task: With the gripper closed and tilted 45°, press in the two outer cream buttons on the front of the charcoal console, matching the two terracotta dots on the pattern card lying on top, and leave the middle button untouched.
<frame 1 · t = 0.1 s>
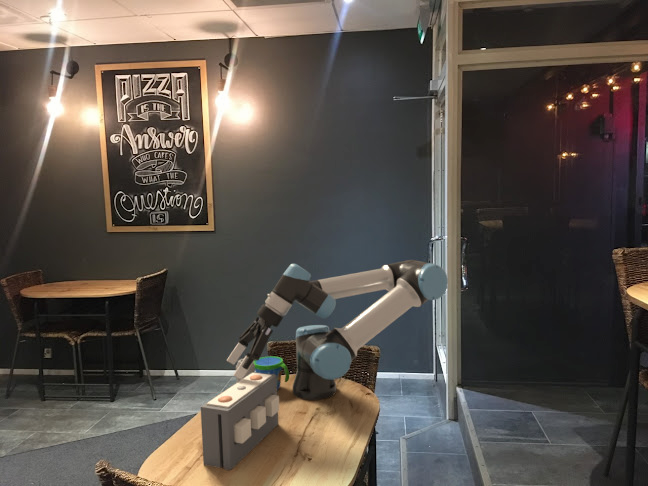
hand: (233, 369, 145), 16 cm above the table, tool tilted 35°, fingers open, 13 cm apart
pattern card: (243, 389, 132), resting on console
energy drink can: (247, 405, 158), on the table
button middle: (257, 417, 131), point 8 cm above the table, slide at 0.0 cm
console: (245, 443, 133), on the table
snack cup: (269, 389, 172), on the table
button edge side: (242, 430, 123), point 8 cm above the table, slide at 0.0 cm
button arm side: (271, 405, 138), point 8 cm above the table, slide at 0.0 cm
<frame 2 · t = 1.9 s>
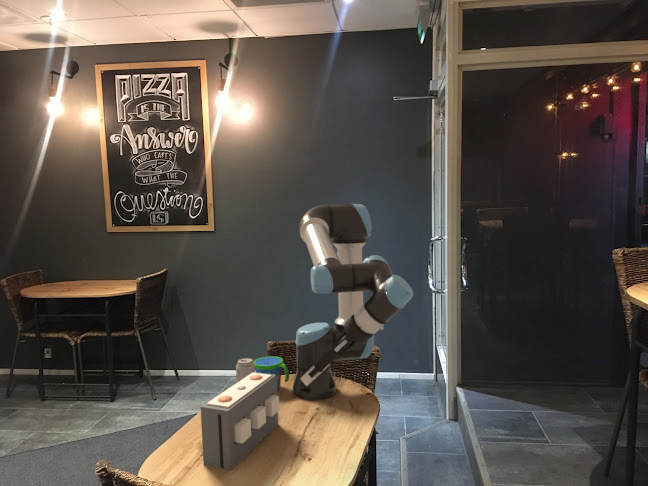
hand: (307, 378, 133), 17 cm above the table, tool tilted 45°, fingers open, 4 cm apart
nothing on the table moved.
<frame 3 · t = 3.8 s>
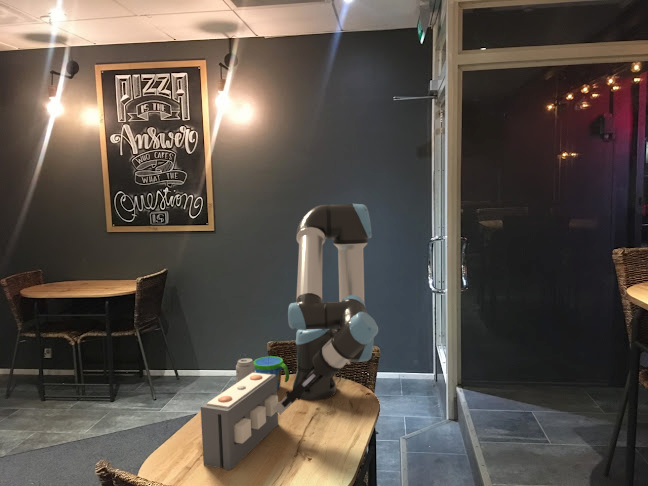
hand: (278, 410, 137), 7 cm above the table, tool tilted 45°, fingers closed
button arm side: (270, 405, 138), point 8 cm above the table, slide at 0.3 cm, touching gripper
everything else where it was.
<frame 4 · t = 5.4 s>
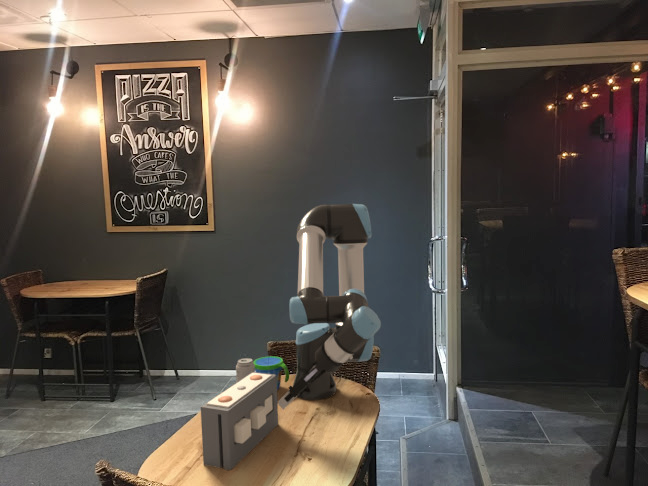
hand: (281, 405, 137), 9 cm above the table, tool tilted 45°, fingers closed
button arm side: (264, 404, 139), point 8 cm above the table, slide at 2.2 cm
everything else where it was.
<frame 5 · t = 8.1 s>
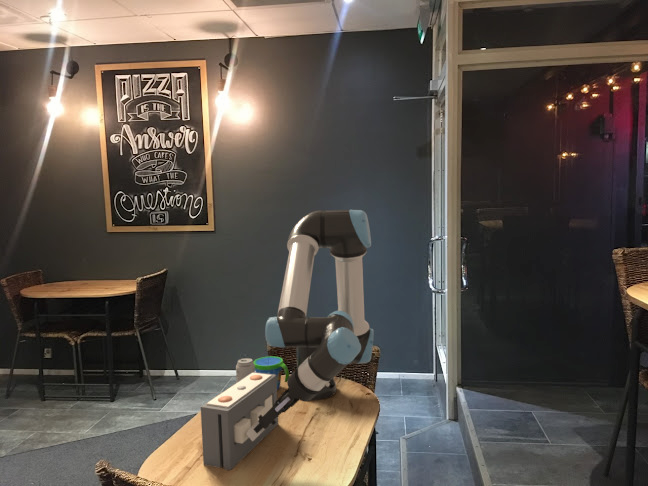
hand: (250, 435, 122), 7 cm above the table, tool tilted 45°, fingers closed
button edge side: (242, 430, 123), point 8 cm above the table, slide at 0.1 cm, touching gripper
everything else where it was.
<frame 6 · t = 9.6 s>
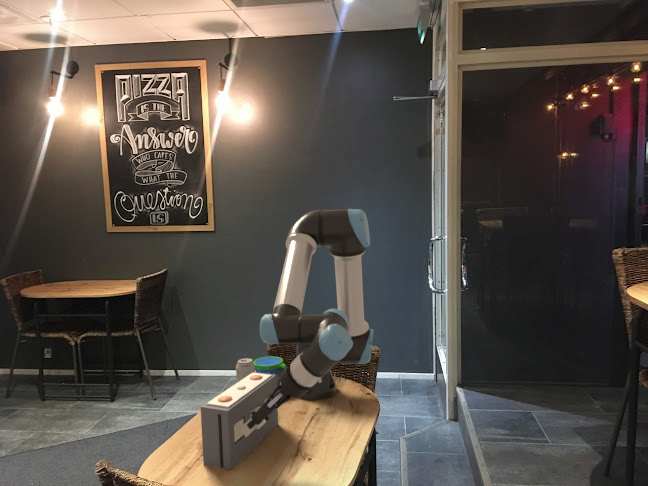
hand: (244, 431, 123), 8 cm above the table, tool tilted 45°, fingers closed
button edge side: (234, 429, 124), point 8 cm above the table, slide at 2.2 cm
everything else where it was.
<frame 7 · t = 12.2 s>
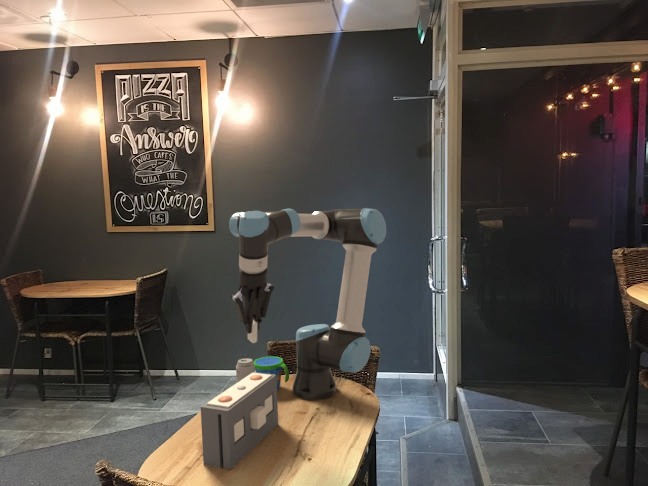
hand: (252, 340, 139), 26 cm above the table, tool tilted 20°, fingers closed
nothing on the table moved.
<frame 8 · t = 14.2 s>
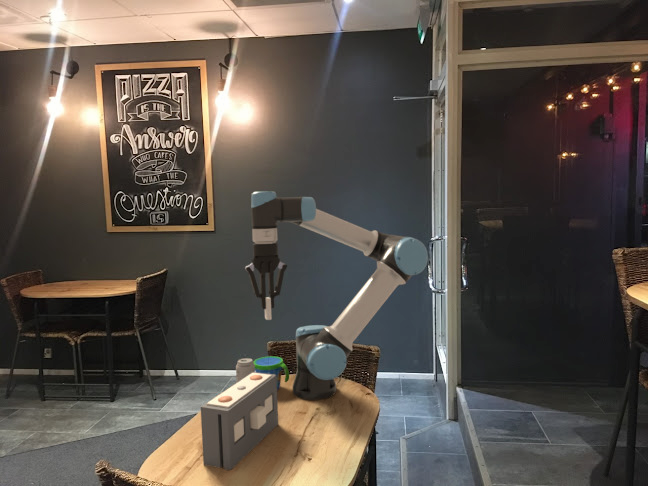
hand: (268, 318, 148), 30 cm above the table, tool pointing down, fingers closed
nothing on the table moved.
at the end: button arm side slide at 2.2 cm; button edge side slide at 2.2 cm; button middle slide at 0.0 cm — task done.
